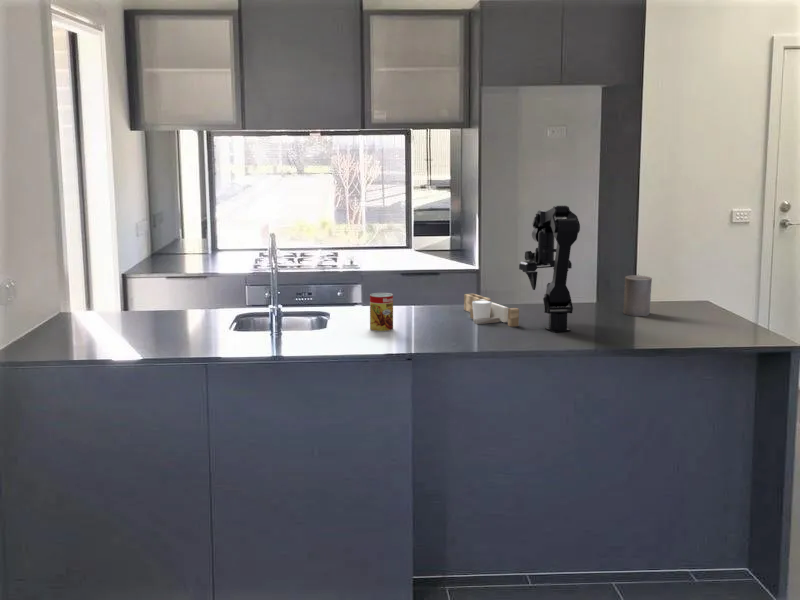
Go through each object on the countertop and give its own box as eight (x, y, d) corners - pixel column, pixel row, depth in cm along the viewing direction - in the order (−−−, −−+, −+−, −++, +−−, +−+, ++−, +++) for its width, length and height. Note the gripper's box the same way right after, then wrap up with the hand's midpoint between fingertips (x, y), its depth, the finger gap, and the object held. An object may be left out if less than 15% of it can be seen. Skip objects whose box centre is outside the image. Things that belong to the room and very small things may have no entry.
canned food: (390, 331, 318) (390, 296, 316) (367, 330, 319) (367, 296, 317) (395, 327, 325) (395, 292, 323) (372, 326, 327) (372, 292, 325)
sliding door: (507, 321, 333) (507, 307, 332) (485, 324, 329) (485, 309, 328) (482, 313, 349) (483, 299, 348) (461, 314, 345) (461, 300, 345)
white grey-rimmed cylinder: (491, 323, 333) (492, 303, 331) (472, 322, 333) (472, 303, 332) (490, 319, 339) (491, 300, 338) (471, 319, 340) (471, 299, 338)
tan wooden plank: (519, 325, 328) (520, 308, 327) (488, 328, 323) (488, 311, 322) (473, 309, 358) (473, 293, 357) (443, 311, 353) (443, 295, 352)
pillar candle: (617, 312, 352) (619, 272, 349) (638, 310, 356) (640, 271, 353) (634, 317, 343) (636, 276, 340) (655, 315, 347) (657, 274, 344)
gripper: (555, 241, 345) (554, 284, 348) (511, 244, 338) (510, 287, 341) (573, 245, 335) (571, 288, 338) (528, 247, 328) (526, 292, 331)
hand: (544, 289), depth 337 cm, fingers open, 9 cm apart
